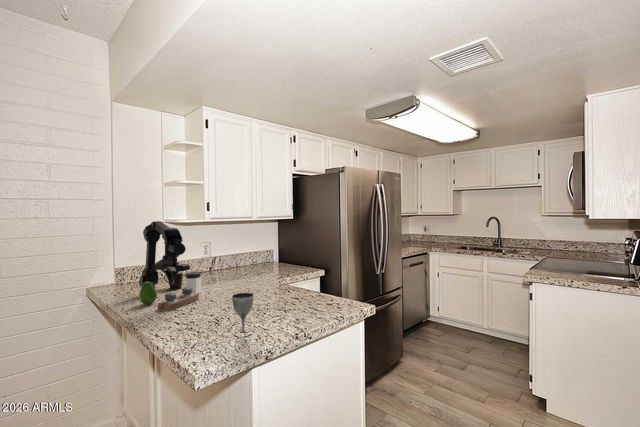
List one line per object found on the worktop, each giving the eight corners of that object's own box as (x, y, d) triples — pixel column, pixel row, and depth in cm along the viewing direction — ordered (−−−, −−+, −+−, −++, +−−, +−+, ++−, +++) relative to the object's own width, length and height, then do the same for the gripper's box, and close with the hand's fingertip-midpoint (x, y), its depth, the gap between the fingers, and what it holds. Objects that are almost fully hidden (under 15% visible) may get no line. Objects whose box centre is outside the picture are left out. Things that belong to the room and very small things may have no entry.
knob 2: (180, 295, 163) (180, 289, 163) (186, 293, 168) (186, 287, 168) (187, 296, 162) (187, 290, 162) (194, 293, 166) (194, 287, 166)
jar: (203, 293, 180) (202, 273, 180) (188, 295, 175) (188, 274, 175) (198, 290, 187) (198, 270, 187) (184, 292, 182) (183, 272, 182)
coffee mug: (185, 288, 194) (185, 272, 194) (173, 291, 187) (173, 274, 187) (175, 285, 200) (175, 270, 200) (162, 288, 193) (162, 272, 193)
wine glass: (234, 330, 122) (234, 292, 122) (254, 329, 123) (254, 292, 123) (230, 338, 114) (230, 298, 114) (252, 337, 115) (251, 297, 115)
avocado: (136, 305, 157) (136, 282, 157) (150, 301, 164) (150, 279, 164) (145, 307, 154) (145, 283, 154) (160, 303, 160) (160, 280, 160)
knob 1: (162, 302, 151) (162, 295, 151) (170, 299, 156) (170, 292, 156) (171, 302, 150) (170, 295, 150) (178, 299, 155) (178, 293, 155)
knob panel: (157, 309, 150) (157, 302, 150) (186, 298, 170) (186, 292, 170) (171, 310, 148) (171, 303, 148) (198, 299, 167) (198, 293, 167)
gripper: (143, 254, 151) (143, 286, 151) (174, 256, 145) (174, 288, 146) (160, 251, 161) (160, 281, 162) (190, 253, 156) (190, 283, 156)
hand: (171, 283), depth 156 cm, fingers closed
